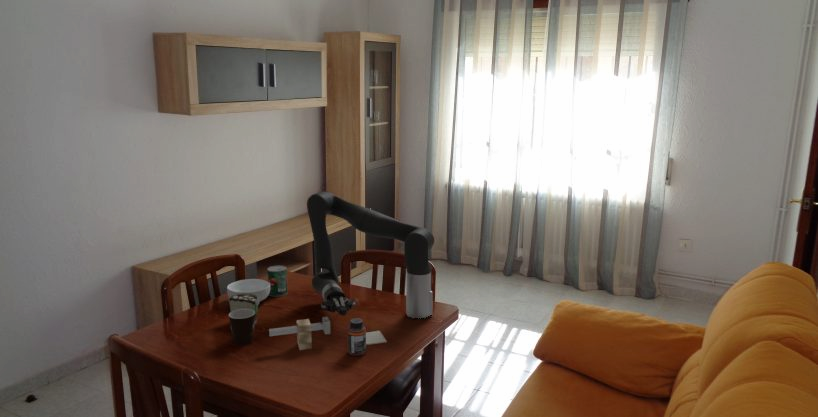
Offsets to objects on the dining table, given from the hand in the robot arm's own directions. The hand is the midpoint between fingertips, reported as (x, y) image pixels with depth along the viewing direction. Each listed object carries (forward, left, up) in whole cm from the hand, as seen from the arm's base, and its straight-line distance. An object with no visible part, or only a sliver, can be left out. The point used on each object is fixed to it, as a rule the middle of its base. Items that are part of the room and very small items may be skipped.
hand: (343, 313), depth 207 cm
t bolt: (+16, +4, -4) cm, 17 cm away
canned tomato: (+17, -50, -9) cm, 53 cm away
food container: (+31, -24, -9) cm, 40 cm away
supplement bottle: (-1, +14, -9) cm, 17 cm away
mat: (-8, +5, -8) cm, 13 cm away
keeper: (+14, +4, -8) cm, 17 cm away
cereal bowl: (+29, -44, -9) cm, 53 cm away
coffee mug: (+33, -8, -9) cm, 35 cm away
